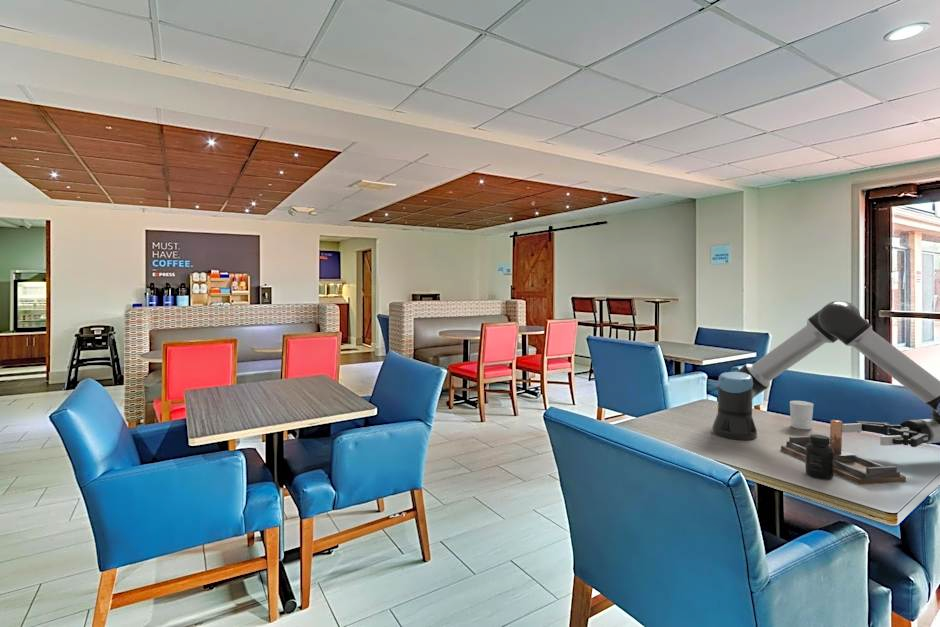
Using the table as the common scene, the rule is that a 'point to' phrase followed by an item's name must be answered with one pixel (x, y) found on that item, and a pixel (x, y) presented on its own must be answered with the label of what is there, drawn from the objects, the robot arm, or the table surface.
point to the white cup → (801, 414)
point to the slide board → (849, 465)
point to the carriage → (838, 443)
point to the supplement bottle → (819, 457)
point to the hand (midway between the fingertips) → (861, 434)
